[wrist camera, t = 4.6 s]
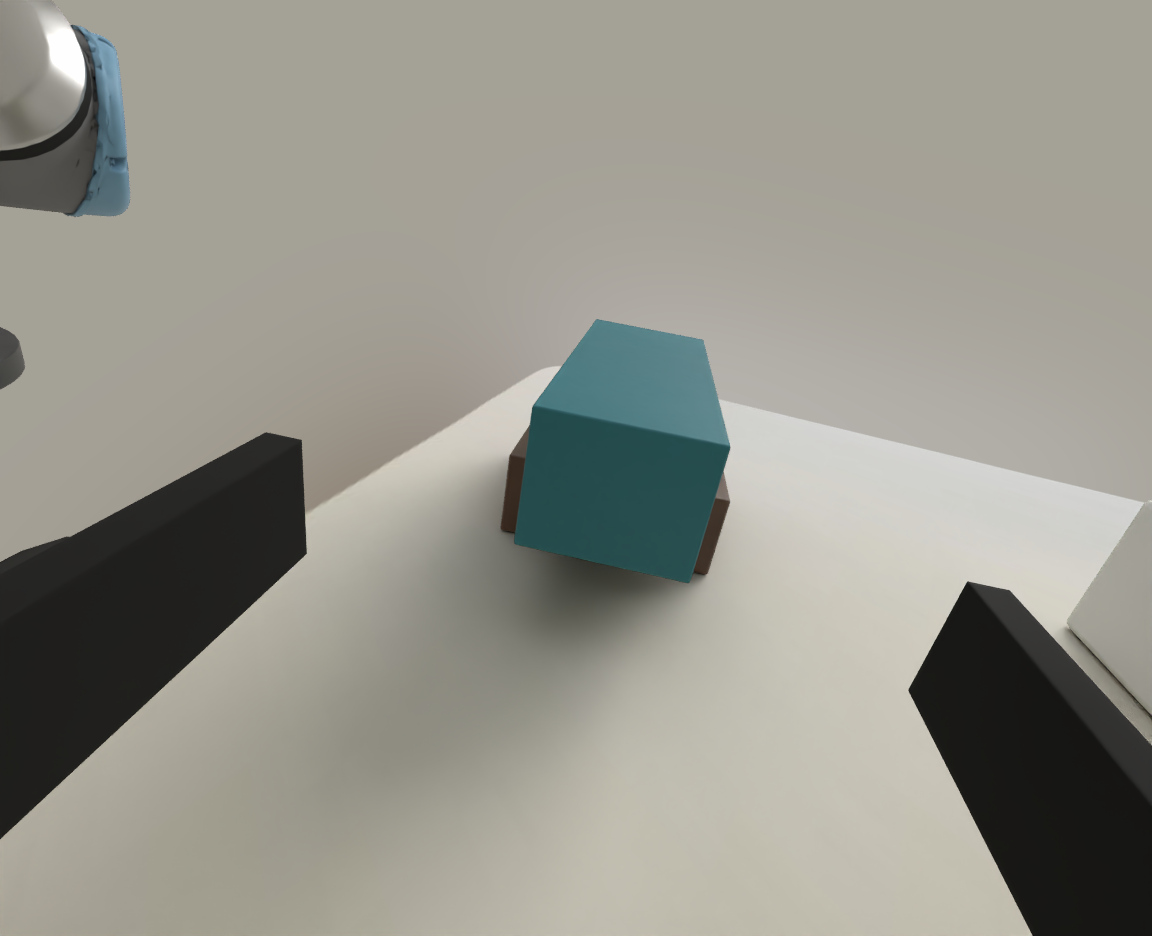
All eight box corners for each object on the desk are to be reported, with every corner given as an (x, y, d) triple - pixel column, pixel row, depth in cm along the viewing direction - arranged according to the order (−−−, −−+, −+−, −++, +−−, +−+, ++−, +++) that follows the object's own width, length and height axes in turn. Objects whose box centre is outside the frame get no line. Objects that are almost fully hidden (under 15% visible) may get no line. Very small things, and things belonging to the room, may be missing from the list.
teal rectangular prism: (513, 545, 19) (532, 405, 17) (581, 403, 34) (596, 318, 32) (689, 584, 19) (731, 446, 17) (682, 424, 33) (703, 339, 31)
